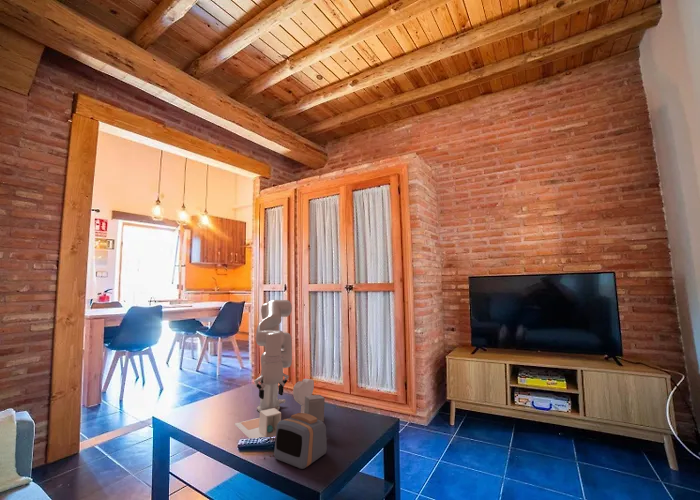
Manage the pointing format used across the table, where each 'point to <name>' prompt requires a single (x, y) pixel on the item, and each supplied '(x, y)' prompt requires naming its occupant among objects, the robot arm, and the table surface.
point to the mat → (253, 429)
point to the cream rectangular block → (269, 420)
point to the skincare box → (315, 406)
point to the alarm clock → (300, 440)
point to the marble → (269, 428)
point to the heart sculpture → (303, 391)
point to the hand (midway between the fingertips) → (271, 396)
